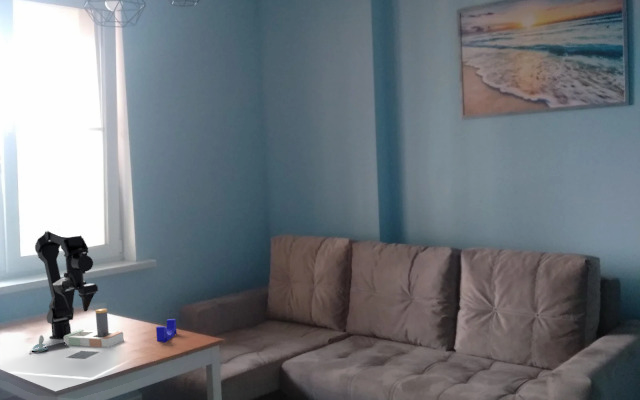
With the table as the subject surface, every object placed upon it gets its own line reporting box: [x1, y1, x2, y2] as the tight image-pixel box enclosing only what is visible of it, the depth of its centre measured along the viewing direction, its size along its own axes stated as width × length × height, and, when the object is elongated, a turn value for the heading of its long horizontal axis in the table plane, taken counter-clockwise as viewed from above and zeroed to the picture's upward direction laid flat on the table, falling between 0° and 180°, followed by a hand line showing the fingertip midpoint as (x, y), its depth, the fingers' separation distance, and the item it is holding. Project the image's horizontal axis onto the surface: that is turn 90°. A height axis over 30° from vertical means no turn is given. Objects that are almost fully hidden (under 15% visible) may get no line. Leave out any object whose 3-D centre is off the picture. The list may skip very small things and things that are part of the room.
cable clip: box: [155, 318, 178, 344], centre depth 254 cm, size 12×4×6 cm, turn 171°
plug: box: [95, 308, 110, 337], centre depth 250 cm, size 4×4×13 cm
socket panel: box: [63, 329, 125, 348], centre depth 252 cm, size 20×9×4 cm, turn 70°
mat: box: [65, 350, 100, 360], centre depth 236 cm, size 8×8×1 cm
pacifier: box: [29, 334, 49, 355], centre depth 244 cm, size 7×6×6 cm
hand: (77, 310), depth 251 cm, fingers open, 9 cm apart
